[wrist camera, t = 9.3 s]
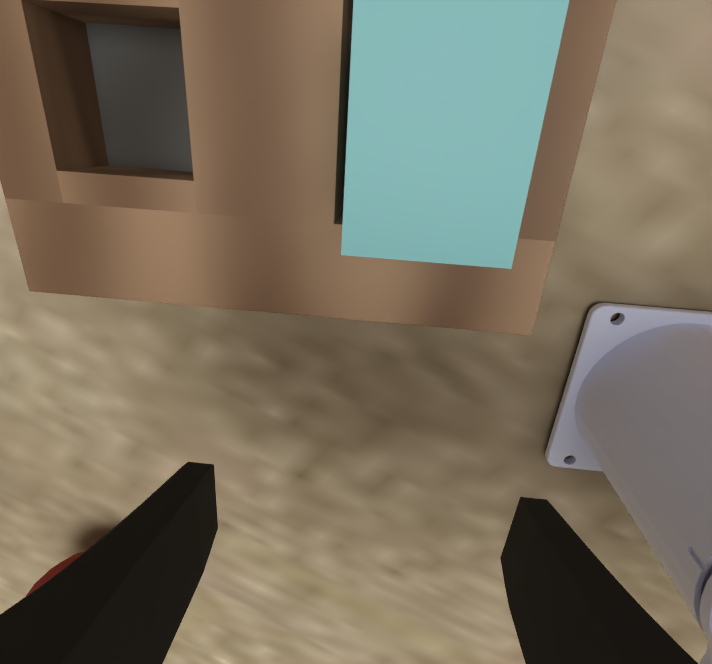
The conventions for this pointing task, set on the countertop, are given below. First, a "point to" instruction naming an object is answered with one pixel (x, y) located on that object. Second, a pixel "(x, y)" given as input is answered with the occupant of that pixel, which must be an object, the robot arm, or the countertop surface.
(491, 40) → the teal cuboid tower
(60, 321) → the countertop surface
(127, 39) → the socket board
